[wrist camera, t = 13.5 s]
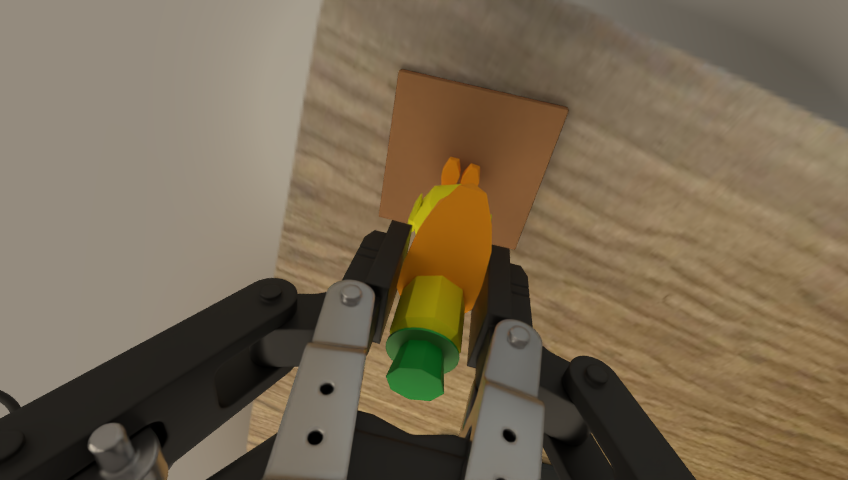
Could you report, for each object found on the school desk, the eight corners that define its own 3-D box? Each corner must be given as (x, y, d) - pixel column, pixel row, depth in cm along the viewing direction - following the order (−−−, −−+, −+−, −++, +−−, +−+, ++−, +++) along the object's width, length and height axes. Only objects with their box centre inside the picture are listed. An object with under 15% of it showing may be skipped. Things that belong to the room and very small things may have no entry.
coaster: (380, 212, 23) (378, 216, 23) (400, 68, 19) (398, 70, 18) (514, 245, 23) (515, 250, 23) (567, 107, 18) (569, 110, 18)
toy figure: (445, 98, 18) (381, 240, 8) (520, 121, 18) (549, 289, 8) (412, 220, 22) (340, 419, 12) (474, 238, 22) (454, 453, 12)
